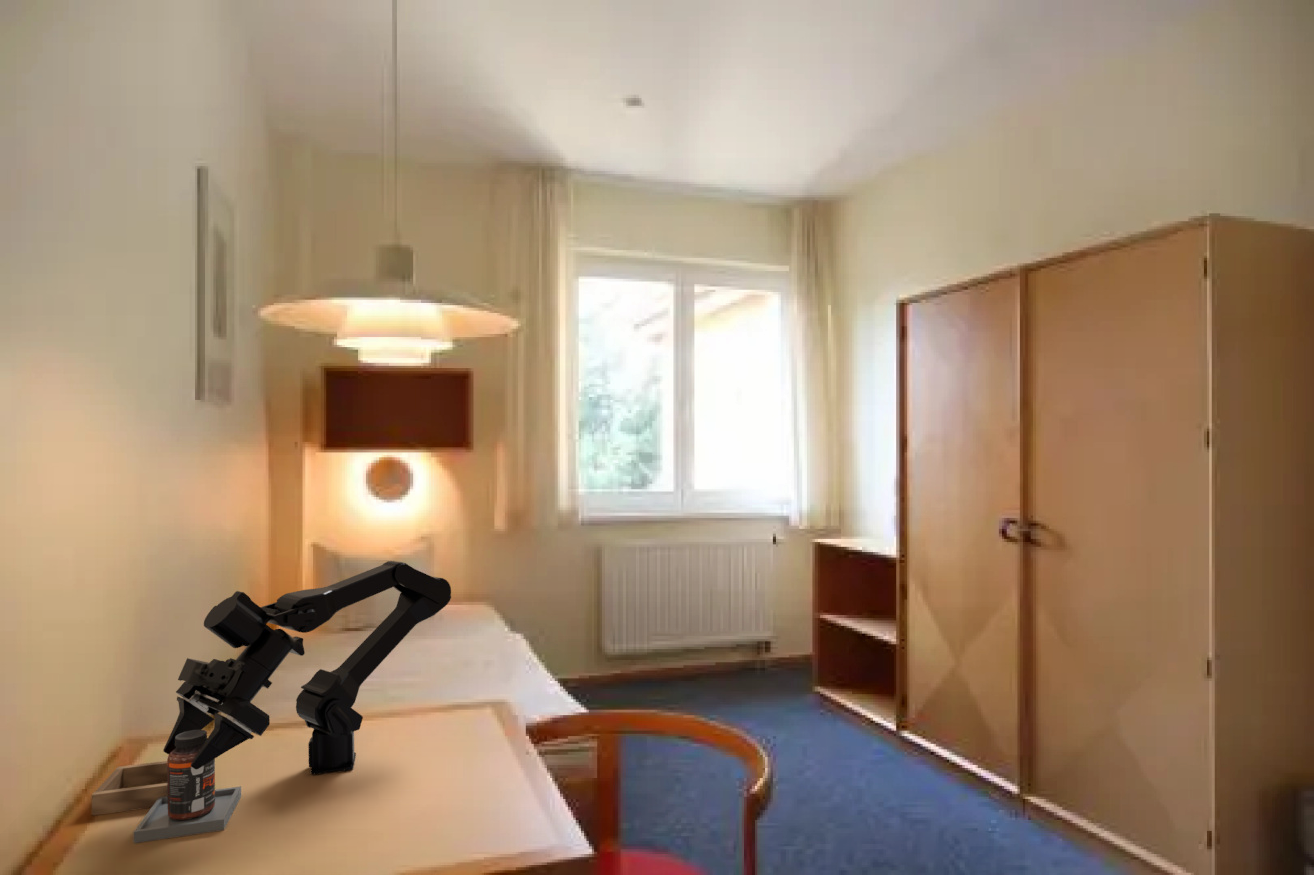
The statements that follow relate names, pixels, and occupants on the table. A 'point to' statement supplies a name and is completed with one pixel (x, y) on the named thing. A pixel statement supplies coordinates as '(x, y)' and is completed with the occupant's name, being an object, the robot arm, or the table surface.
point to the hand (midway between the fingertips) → (179, 760)
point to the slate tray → (165, 827)
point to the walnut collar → (133, 798)
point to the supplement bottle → (189, 778)
